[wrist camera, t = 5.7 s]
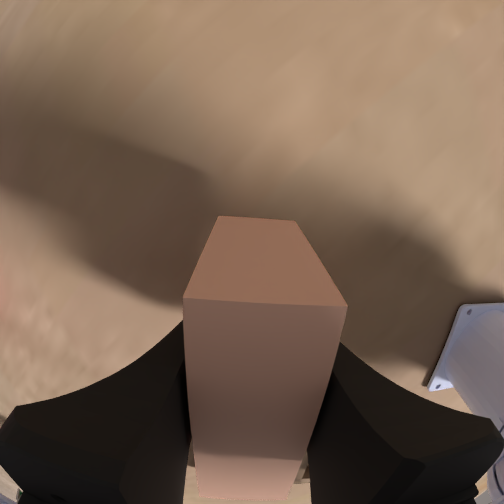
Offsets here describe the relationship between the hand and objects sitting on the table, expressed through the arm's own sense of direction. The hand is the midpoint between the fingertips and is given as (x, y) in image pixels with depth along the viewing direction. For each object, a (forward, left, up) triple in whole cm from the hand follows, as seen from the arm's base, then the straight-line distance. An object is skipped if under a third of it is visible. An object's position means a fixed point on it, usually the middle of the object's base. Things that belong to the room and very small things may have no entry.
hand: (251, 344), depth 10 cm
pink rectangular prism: (0, +1, -3) cm, 3 cm away
